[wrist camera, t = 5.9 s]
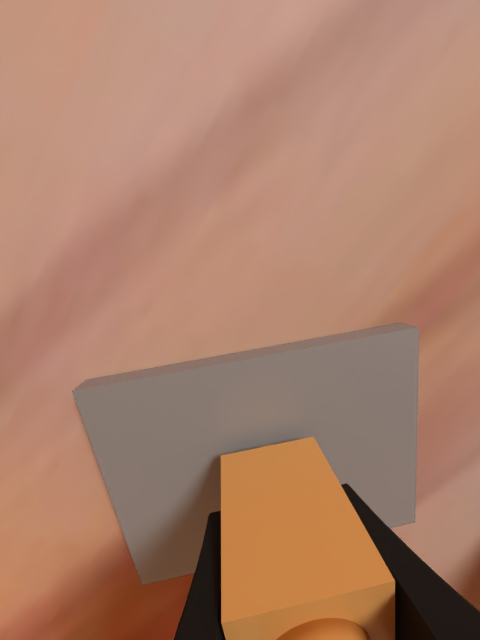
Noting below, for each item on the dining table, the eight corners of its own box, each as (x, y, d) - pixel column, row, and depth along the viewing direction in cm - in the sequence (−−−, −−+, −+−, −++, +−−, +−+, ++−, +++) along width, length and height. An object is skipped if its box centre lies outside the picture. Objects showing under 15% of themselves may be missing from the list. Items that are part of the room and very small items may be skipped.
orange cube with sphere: (313, 436, 10) (423, 631, 5) (320, 509, 11) (418, 741, 6) (220, 455, 10) (221, 683, 5) (236, 527, 11) (252, 789, 6)
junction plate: (402, 322, 11) (496, 348, 8) (401, 505, 14) (471, 593, 10) (85, 380, 11) (7, 442, 7) (147, 562, 13) (117, 683, 9)
